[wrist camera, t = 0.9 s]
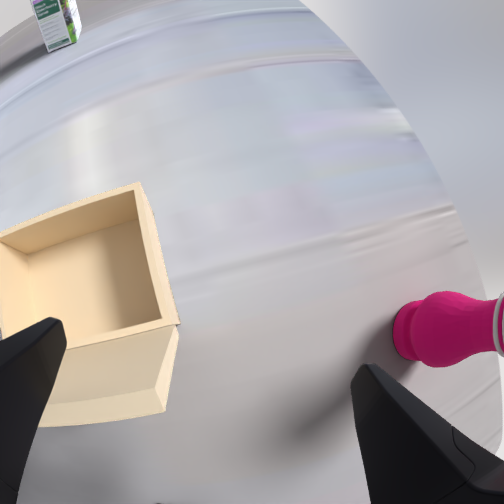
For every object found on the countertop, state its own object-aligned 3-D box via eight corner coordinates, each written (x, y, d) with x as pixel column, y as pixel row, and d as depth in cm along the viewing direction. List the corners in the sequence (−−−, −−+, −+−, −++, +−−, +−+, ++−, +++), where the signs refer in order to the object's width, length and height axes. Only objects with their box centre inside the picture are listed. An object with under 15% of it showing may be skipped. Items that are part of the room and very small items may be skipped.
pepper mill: (441, 343, 26) (595, 330, 6) (398, 376, 24) (576, 394, 5) (425, 286, 27) (584, 236, 8) (379, 314, 25) (574, 277, 6)
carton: (180, 323, 22) (171, 324, 17) (44, 355, 19) (7, 360, 14) (153, 212, 24) (139, 181, 19) (27, 253, 21) (-8, 235, 15)
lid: (175, 324, 17) (179, 337, 17) (6, 361, 14) (10, 372, 14) (154, 387, 7) (166, 414, 7) (-80, 402, 4) (-72, 418, 4)
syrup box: (47, 53, 28) (25, -9, 14) (55, 37, 29) (37, -21, 15) (77, 42, 29) (60, -25, 15) (83, 27, 30) (69, -35, 16)
